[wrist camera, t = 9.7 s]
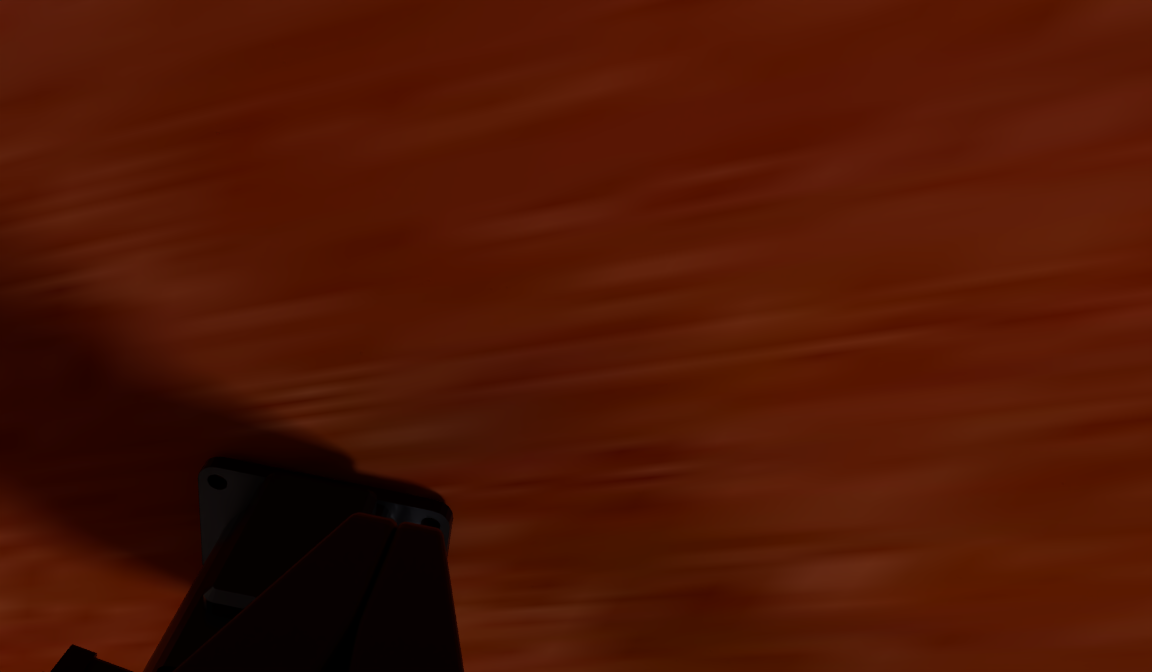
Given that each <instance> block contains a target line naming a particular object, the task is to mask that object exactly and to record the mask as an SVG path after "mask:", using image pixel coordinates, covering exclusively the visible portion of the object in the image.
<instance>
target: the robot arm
mask: <svg viewBox="0 0 1152 672" xmlns="http://www.w3.org/2000/svg"><path fill="white" fill-rule="evenodd" d="M217 475H219V476H222V477H223V478H224V479H222V478H220V477H218V476H217ZM198 488H199V506H200V525H201V544H202V563H203V567H202V568H201V570H200V572H199V574H198V575H197V577H196V579H195V581H194V583H193V584H192V586H191V588H190V590H189V591H188V593H187V595H186V597H185V598H184V600H183V602H182V604H181V605H180V607H179V609H178V611H177V613H176V614H175V616H174V618H173V620H172V621H171V623H170V625H169V627H168V628H167V630H166V632H165V634H164V635H163V637H162V639H161V641H160V643H159V644H158V646H157V648H156V650H155V651H154V653H153V655H152V657H151V658H150V660H149V662H148V664H147V665H146V667H145V669H144V671H143V672H464V668H463V662H462V655H461V648H460V642H459V635H458V628H457V622H456V615H455V608H454V602H453V595H452V588H451V582H450V575H449V568H448V562H447V556H448V549H449V542H450V536H451V529H452V522H453V513H452V511H451V509H450V508H449V507H448V506H447V505H446V504H444V503H443V502H440V501H437V500H433V499H428V498H423V497H418V496H413V495H408V494H403V493H399V492H394V491H389V490H384V489H379V488H374V487H369V486H364V485H359V484H354V483H349V482H344V481H339V480H334V479H329V478H324V477H319V476H314V475H309V474H304V473H299V472H294V471H289V470H284V469H279V468H274V467H269V466H264V465H259V464H254V463H250V462H245V461H240V460H235V459H230V458H225V457H214V458H211V459H209V460H208V461H207V462H206V463H205V465H204V466H203V468H202V469H201V471H200V472H199V476H198ZM427 518H433V519H436V520H437V521H431V520H429V519H427ZM96 656H97V653H95V652H92V651H89V650H87V649H84V648H81V647H79V646H76V645H73V644H72V645H71V646H70V647H69V649H68V650H67V651H66V653H65V654H64V655H63V656H62V658H61V659H60V660H59V661H58V663H57V664H56V665H55V667H54V668H53V669H52V670H51V672H133V671H130V670H127V669H125V668H122V667H119V666H117V665H114V664H111V663H109V662H106V661H103V660H100V659H98V658H96Z"/></svg>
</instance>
